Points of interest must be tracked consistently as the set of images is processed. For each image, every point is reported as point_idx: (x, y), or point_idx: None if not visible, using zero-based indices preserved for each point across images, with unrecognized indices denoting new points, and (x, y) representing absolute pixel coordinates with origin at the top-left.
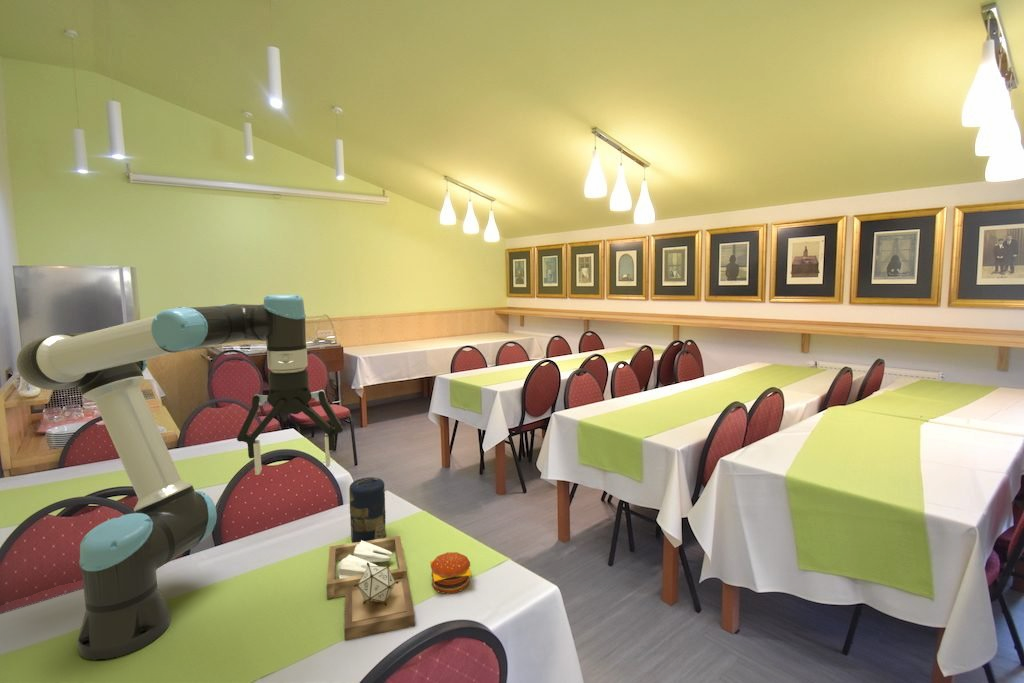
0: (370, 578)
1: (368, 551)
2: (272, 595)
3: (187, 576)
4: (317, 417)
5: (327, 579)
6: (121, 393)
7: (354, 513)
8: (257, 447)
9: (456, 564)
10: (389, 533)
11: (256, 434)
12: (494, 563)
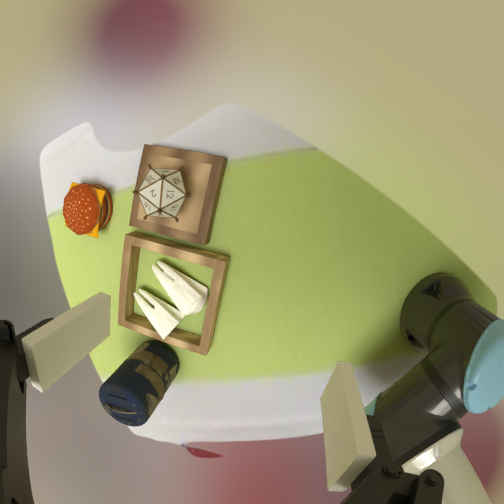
0: (166, 178)
1: (159, 311)
2: (293, 305)
3: (370, 392)
4: None
5: (222, 274)
6: None
7: (157, 379)
8: (356, 439)
9: (74, 193)
10: None
11: (365, 497)
12: (53, 219)
